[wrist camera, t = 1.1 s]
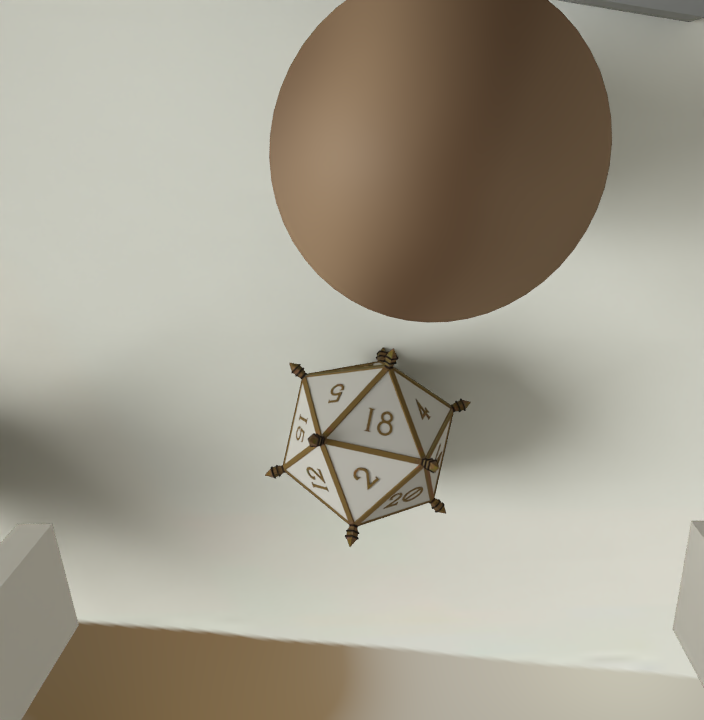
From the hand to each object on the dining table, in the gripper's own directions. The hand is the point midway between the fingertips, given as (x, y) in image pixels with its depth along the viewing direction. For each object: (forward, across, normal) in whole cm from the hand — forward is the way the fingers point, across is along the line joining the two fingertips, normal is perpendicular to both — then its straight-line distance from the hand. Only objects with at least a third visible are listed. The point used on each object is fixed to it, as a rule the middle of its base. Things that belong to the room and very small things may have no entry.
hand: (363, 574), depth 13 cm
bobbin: (+19, +2, +8) cm, 21 cm away
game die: (+19, -1, -5) cm, 20 cm away
